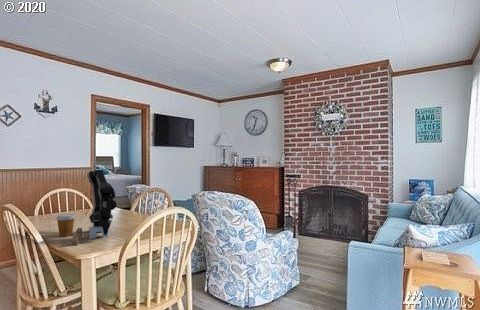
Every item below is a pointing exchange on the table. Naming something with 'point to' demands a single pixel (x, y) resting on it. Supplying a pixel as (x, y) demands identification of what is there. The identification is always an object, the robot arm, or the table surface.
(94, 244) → the table surface
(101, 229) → the notched blue slab
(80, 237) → the notched wooden post
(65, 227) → the disposable coffee cup
